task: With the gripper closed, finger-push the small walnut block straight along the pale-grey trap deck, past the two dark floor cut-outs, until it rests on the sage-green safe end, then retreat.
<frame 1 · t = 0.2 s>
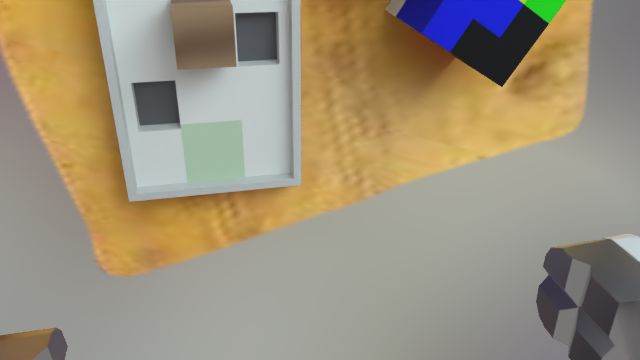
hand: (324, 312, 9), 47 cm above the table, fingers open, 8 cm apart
trap deck: (206, 72, 54), on the table
walnut block: (202, 25, 50), point 2 cm above the table, touching trap deck
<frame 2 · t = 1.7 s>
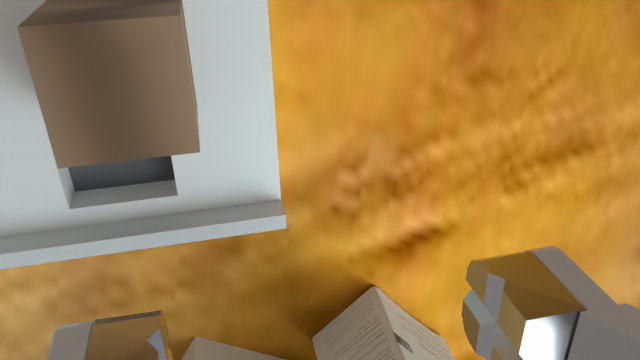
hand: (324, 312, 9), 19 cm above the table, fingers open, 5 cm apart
trap deck: (13, 52, 24), on the table
skincare box: (374, 335, 37), on the table
walnut block: (128, 55, 23), point 2 cm above the table, touching trap deck
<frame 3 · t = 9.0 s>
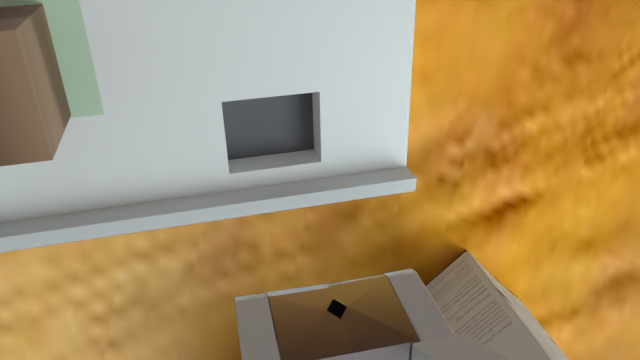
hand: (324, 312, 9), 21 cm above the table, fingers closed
trap deck: (190, 33, 27), on the table
skincare box: (461, 299, 41), on the table
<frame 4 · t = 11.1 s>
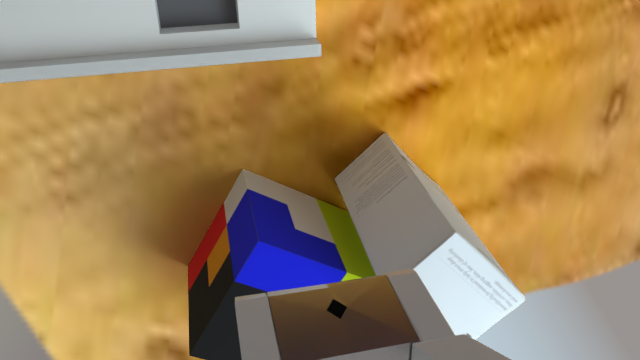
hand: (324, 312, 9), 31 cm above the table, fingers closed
skincare box: (384, 181, 46), on the table
puzzle toy: (268, 237, 46), on the table
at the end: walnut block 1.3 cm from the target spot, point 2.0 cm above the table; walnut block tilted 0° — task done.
